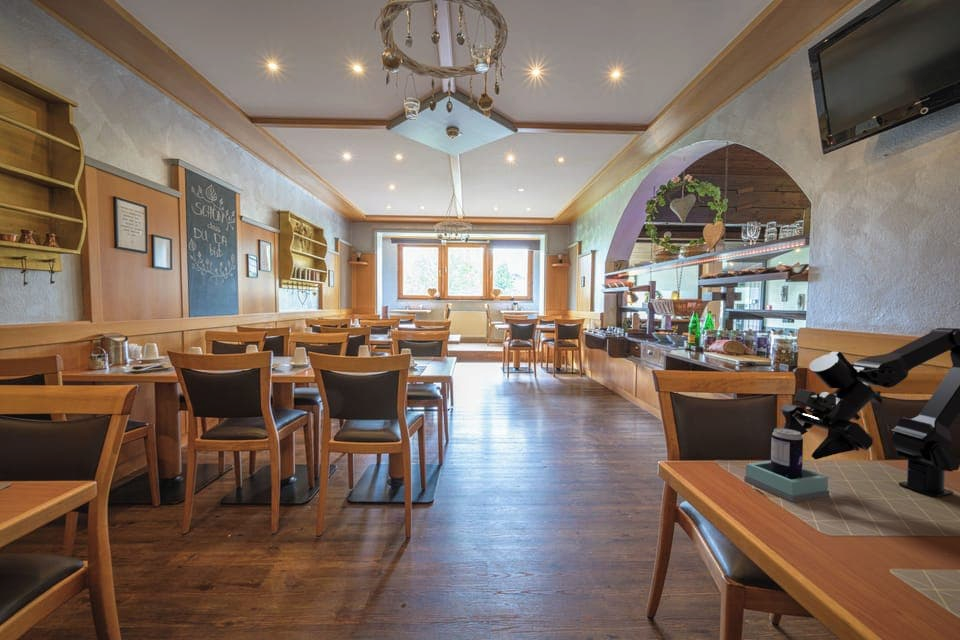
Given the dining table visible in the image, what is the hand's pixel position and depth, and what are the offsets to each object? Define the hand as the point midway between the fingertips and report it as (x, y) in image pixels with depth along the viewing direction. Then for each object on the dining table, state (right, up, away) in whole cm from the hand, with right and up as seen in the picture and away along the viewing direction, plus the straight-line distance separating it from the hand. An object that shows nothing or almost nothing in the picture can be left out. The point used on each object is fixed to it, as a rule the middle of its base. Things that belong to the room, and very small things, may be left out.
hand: (796, 450), depth 90 cm
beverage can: (-2, -8, 0) cm, 8 cm away
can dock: (-2, -9, 0) cm, 9 cm away
